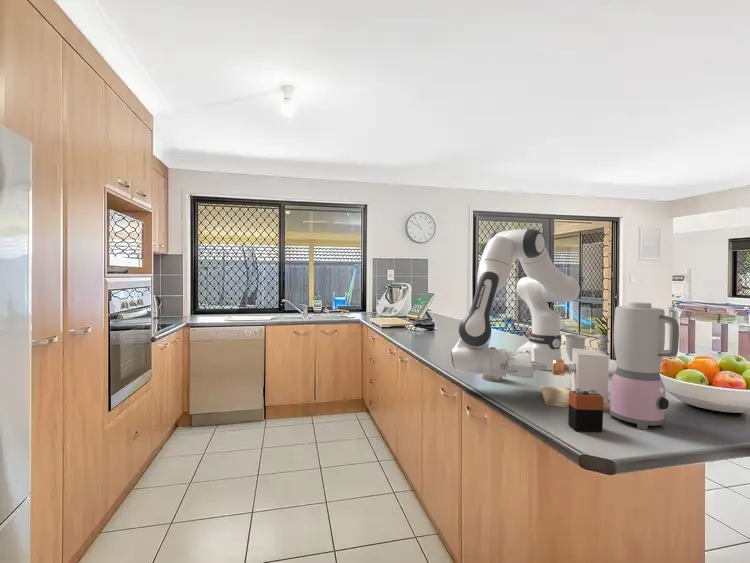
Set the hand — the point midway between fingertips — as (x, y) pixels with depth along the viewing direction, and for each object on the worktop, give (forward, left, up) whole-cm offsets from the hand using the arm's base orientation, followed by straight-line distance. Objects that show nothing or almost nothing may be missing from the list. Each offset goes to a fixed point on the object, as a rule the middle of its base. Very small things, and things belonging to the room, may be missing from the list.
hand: (546, 366), depth 123 cm
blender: (+25, +8, -10) cm, 28 cm away
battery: (+23, -10, -10) cm, 27 cm away
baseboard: (+5, +6, -10) cm, 13 cm away
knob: (+4, +5, -2) cm, 7 cm away
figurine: (-24, -3, -10) cm, 26 cm away
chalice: (-6, +18, -10) cm, 22 cm away
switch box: (+8, +9, -8) cm, 15 cm away
